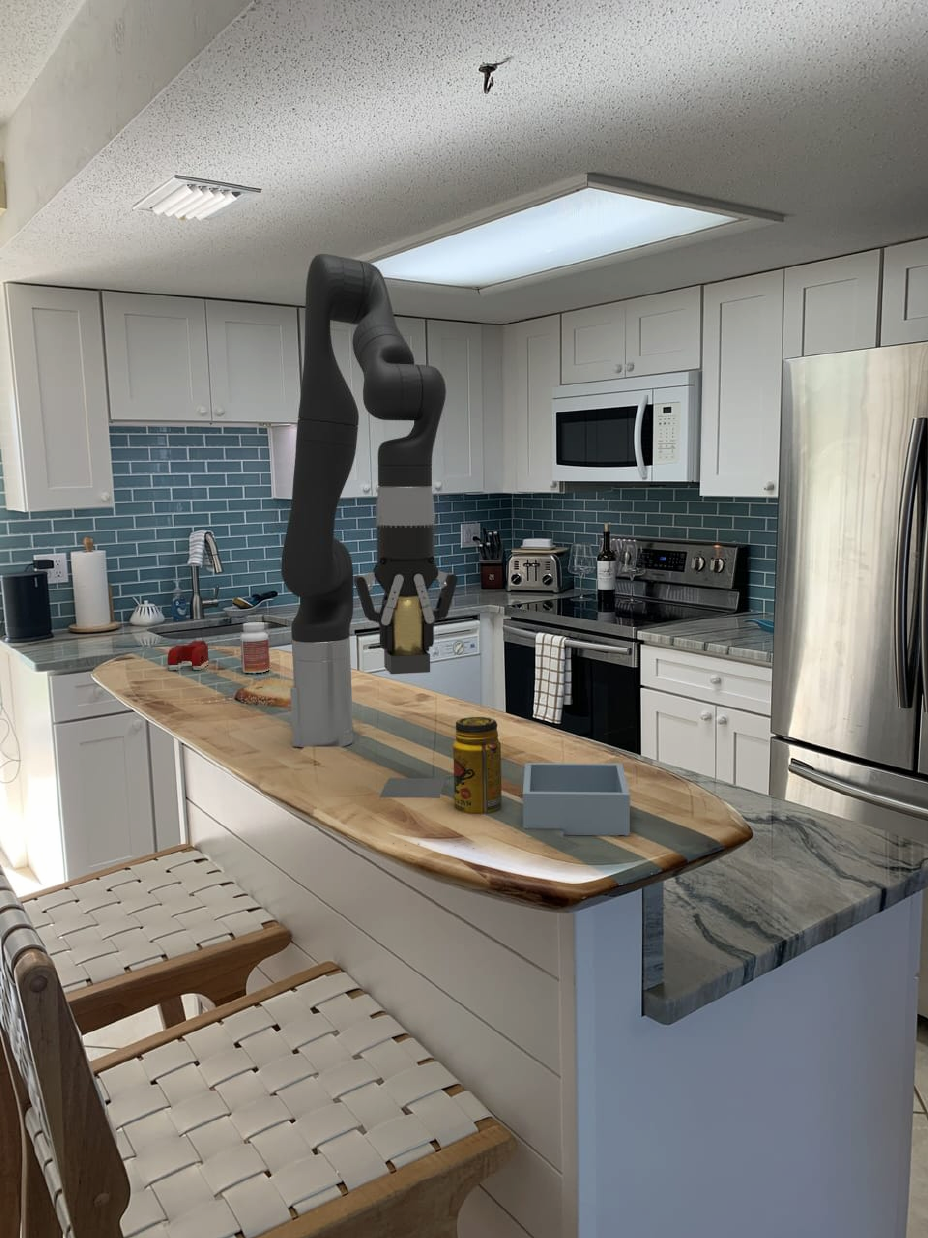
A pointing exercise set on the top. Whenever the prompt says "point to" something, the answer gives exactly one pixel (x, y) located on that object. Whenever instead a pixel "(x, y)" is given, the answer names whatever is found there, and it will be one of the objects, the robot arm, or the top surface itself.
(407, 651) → the gold cylindrical piece
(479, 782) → the condiment
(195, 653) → the red arch block
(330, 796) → the top surface
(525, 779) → the bin
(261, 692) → the bread slice
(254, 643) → the pill bottle
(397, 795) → the stud plate
